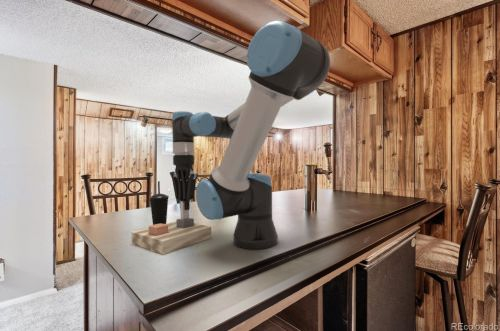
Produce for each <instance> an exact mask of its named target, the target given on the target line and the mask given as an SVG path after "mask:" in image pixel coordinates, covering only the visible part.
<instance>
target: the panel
mask: <svg viewBox="0 0 500 331" xmlns="http://www.w3.org/2000/svg"><path fill="white" fill-rule="evenodd" d="M166 225H168V233H166V234H162V235H159V236H153V235H150V234H149V227H147V228H144V229H139V230H135V231H131V244H132V245H134V246H137V247H140V248H142V249H146V250H148V251H150V252H151V251H152V252H154V253H158V254H160V255H163V256H164V255H165V254H169V253H172V252H174V251H177V250H180V249H183V248H186V247H189V246H191V245H195V244H197V243H201V242H203V241H206V240H209V239H212V237H213V236H212V226H209V225H204V224H200V223H195V222H194V226H192V227H188V228H179V227H177V225H176V221H173V222H168V223H166Z"/></svg>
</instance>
